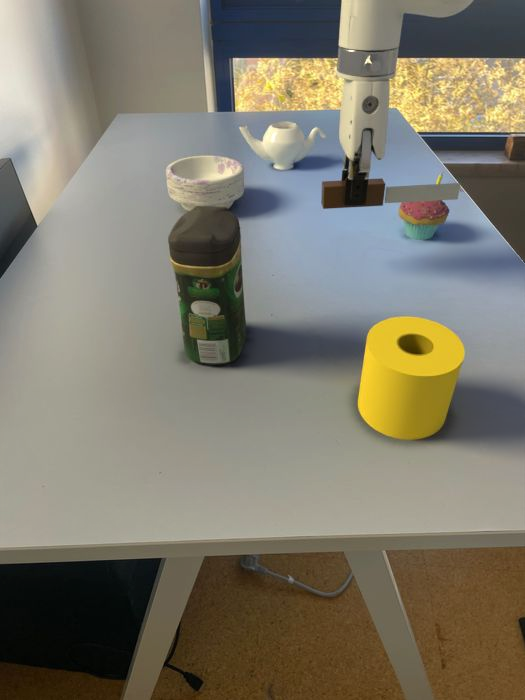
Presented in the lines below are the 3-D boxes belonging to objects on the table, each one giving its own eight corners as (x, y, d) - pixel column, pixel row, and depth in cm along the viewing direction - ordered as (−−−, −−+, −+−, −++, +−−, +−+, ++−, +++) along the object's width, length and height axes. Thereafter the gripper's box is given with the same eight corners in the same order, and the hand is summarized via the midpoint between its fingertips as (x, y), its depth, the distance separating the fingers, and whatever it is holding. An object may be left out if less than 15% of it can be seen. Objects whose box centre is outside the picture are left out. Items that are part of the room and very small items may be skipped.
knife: (323, 209, 77) (323, 187, 75) (321, 203, 79) (322, 181, 77) (459, 201, 77) (464, 179, 75) (454, 195, 79) (459, 173, 77)
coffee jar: (196, 322, 74) (181, 198, 62) (250, 326, 73) (245, 200, 61) (177, 366, 67) (156, 234, 55) (238, 371, 66) (229, 238, 54)
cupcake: (448, 230, 95) (463, 165, 87) (435, 249, 89) (450, 182, 82) (403, 220, 98) (414, 157, 91) (387, 238, 93) (397, 172, 85)
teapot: (328, 172, 118) (330, 130, 113) (241, 175, 118) (239, 132, 112) (322, 158, 126) (324, 117, 120) (240, 160, 125) (239, 120, 120)
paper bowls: (257, 197, 108) (256, 159, 103) (223, 227, 97) (220, 186, 92) (194, 186, 113) (190, 149, 108) (155, 214, 103) (149, 174, 98)
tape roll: (355, 434, 57) (365, 370, 51) (359, 374, 65) (367, 312, 59) (449, 445, 56) (470, 381, 50) (441, 383, 63) (459, 321, 57)
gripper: (412, 75, 60) (389, 223, 71) (382, 50, 72) (366, 179, 84) (348, 77, 60) (335, 224, 71) (328, 51, 72) (320, 181, 84)
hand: (352, 199), depth 77 cm, fingers closed on knife, 2 cm apart
